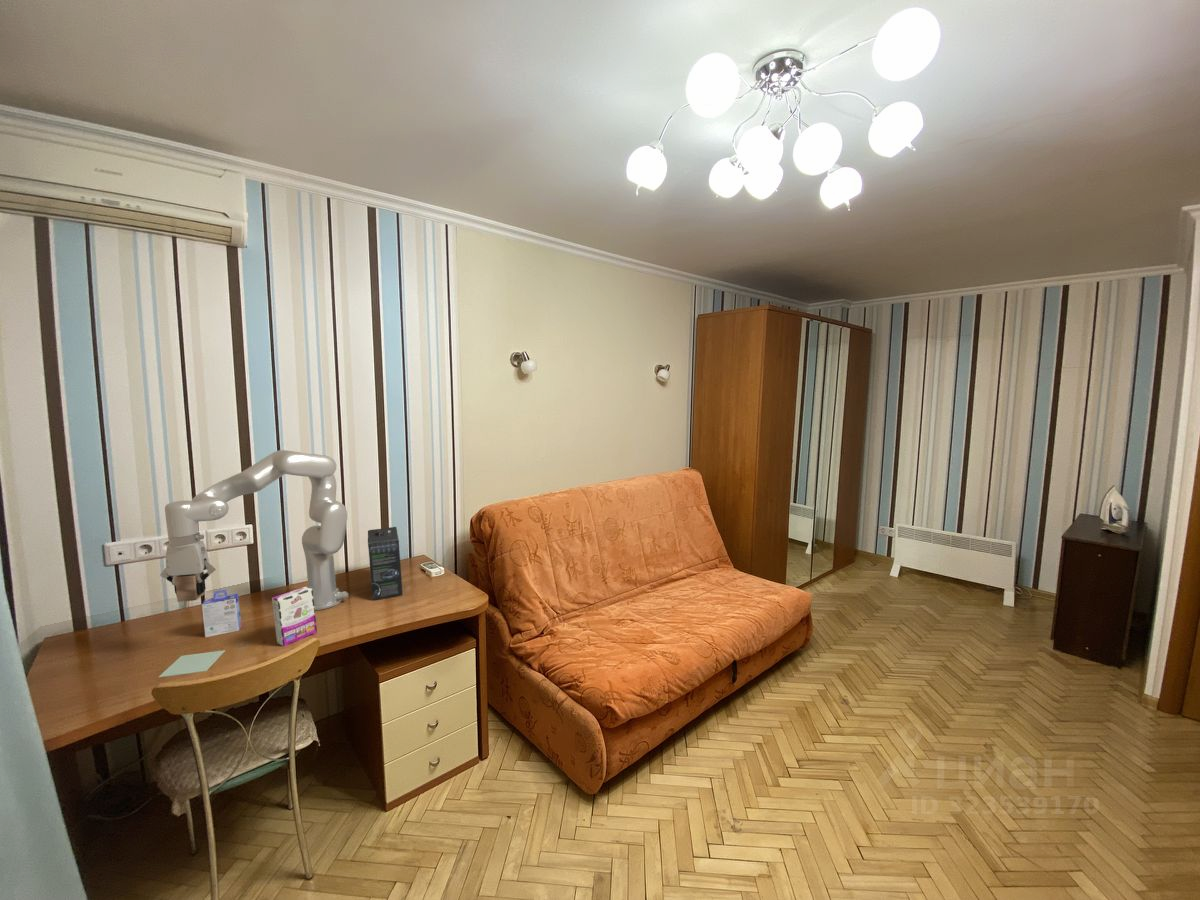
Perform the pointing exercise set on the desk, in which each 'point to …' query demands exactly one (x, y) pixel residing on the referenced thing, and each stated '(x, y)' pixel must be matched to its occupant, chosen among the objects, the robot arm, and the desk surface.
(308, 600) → the candy bar box
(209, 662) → the green mat
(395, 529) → the headset box
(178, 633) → the desk surface
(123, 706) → the desk surface
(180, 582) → the walnut block
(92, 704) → the desk surface
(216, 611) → the ink cartridge box
